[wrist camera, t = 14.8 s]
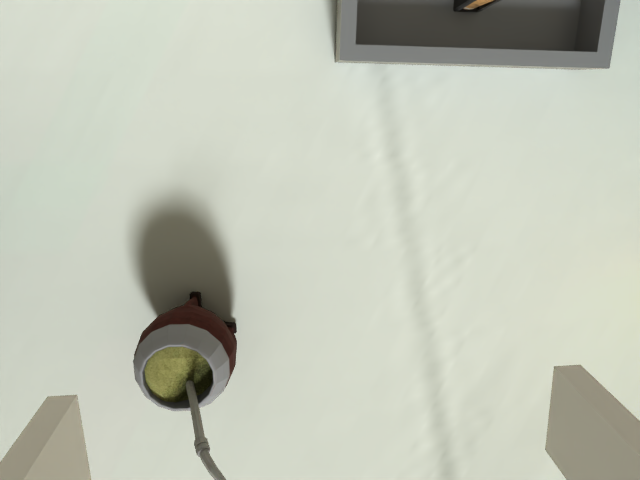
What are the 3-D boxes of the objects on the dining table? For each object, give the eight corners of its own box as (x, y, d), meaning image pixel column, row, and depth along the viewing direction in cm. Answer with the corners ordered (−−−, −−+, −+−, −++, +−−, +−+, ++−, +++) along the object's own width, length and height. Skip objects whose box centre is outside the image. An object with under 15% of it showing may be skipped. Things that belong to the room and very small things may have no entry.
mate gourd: (150, 287, 44) (80, 388, 30) (250, 286, 44) (229, 385, 30) (157, 372, 46) (96, 505, 32) (253, 370, 46) (235, 500, 32)
